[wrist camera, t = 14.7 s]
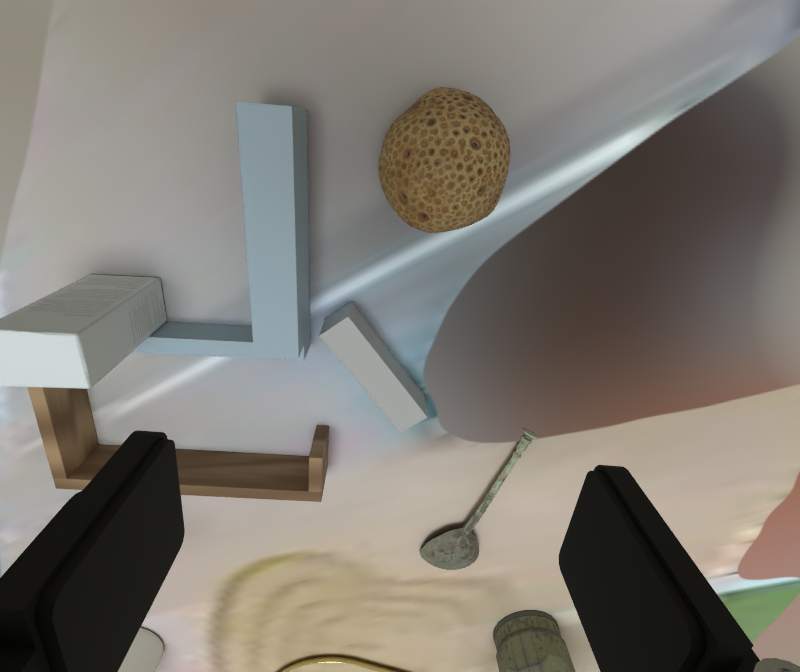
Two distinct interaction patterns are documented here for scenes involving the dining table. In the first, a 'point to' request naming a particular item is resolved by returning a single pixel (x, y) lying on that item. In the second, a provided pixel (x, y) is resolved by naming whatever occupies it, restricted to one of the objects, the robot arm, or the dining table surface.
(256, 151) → the crook
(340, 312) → the grey plastic stick
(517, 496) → the dining table surface
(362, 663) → the serving platter
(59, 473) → the wooden u-shaped tray
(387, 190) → the natural sponge
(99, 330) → the skincare box
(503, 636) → the thermos
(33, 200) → the dining table surface
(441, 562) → the soupspoon
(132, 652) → the milk bottle
